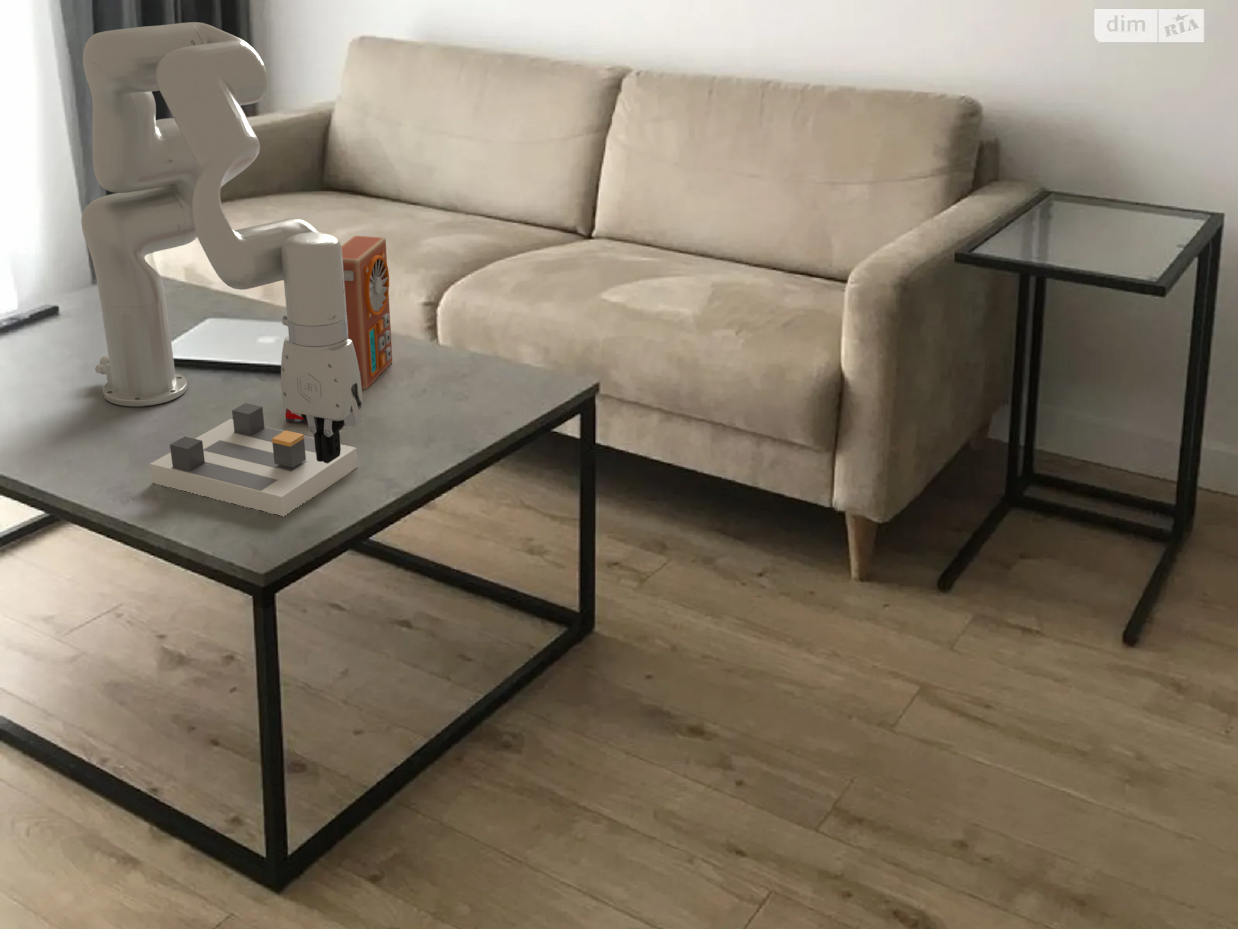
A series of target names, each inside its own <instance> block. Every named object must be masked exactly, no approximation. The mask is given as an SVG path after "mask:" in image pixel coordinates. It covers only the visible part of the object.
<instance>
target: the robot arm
mask: <svg viewBox="0 0 1238 929" xmlns="http://www.w3.org/2000/svg"><path fill="white" fill-rule="evenodd" d="M82 54H83V55H82V64H83V71H84V75H85V78H86V81H87V84H88V87H89V91H90V94H91V102H92V167H93V173H94V176H95V178H96V181H97V183H98V184H99V185H100V186H101V188H103V189H105V191H107V192H111V194H107V195H104V196H103V195H102V196H101V197H98V198H96V199H94V200H93V201H91V202H90V203H89V204H87V205H86V206H85V208H84V210H83V211H82V214H81V220H80V221H81V222H80V223H81V228H82V229H81V230H82V233H83V237H84V240H85V242H86V245H87V247H88V251H89V254H90V258H91V260H92V261H91V262H92V263H93V264H92V265H93V267H94V273H95V277H96V278H95V279H96V283H97V289H98V294H99V295H98V296H99V301H100V307H101V315H102V320H103V321H102V322H103V328H104V335H105V341H106V347H107V354H108V356H106V355H104V356H102V357H101V358H100V359H99V363H98V364H96V365H95V367H94V370H95V373H96V374H102V375H106V379H107V380H106V381H107V382H106V383H105V384H104V385H103V387H102V394H103V397H104V399H105V400H106V401H108V402H109V403H111V404H115V405H119V406H124V407H148V406H155V405H159V404H160V405H161V404H164V403H168V402H170V401H174V400H175V399H178V398H179V397H181V396H182V395H183V394H184V393H186V391H187V389H188V382H187V379H186V377H185V376H184V375H182V374H180V373H177V372H176V370H175V360H174V354H173V353H174V352H173V346H172V337H171V331H170V330H171V329H170V323H169V322H170V321H169V314H168V306H167V299H166V291H165V290H166V289H165V286H164V285H165V284H164V282H163V279H162V277H161V275H160V274H159V272H158V271H157V270H156V269H154V267H153V266H151V265H150V264H149V263H148V262H147V261H146V259H145V257H146V256H147V255H150V254H154V253H156V252H161V251H165V250H169V249H175V248H178V247H182V246H185V245H188V244H191V243H193V242H194V241H195V240H196V239H198V242H199V244H200V245H201V246H200V247H201V248H202V250H203V251H204V253H205V255H206V258H207V259H208V262H209V263H210V265H211V267H212V268H213V270H214V272H215V273H216V275H217V277H218V278H219V279H220V280H221V281H222V282H223V283H224V284H225V285H226V286H227V287H230V288H232V289H234V290H241V291H242V290H250V289H253V288H254V289H255V288H258V287H263V286H265V285H266V286H267V285H269V284H274V283H277V282H282V281H283V285H284V297H285V308H286V314H285V315H283V316H282V319H281V324H282V325H283V326H286V327H287V329H288V336H286V337H285V338H284V339H283V345H282V351H281V360H280V361H281V363H280V365H281V366H280V381H281V382H280V387H281V397H282V398H281V400H282V404H283V406H284V407H285V409H286V408H287V409H288V410H290V411H291V412H292V413H294V414H296V415H299V416H302V418H303V419H304V420H305V421H306V423H307V424H306V425H307V426H308V430H309V432H310V433H311V434H313V438H314V440H315V450H316V458H317V461H319V462H322V461H323V462H324V463H329V462H331V461H333V460H334V459H336V458H337V457H339V456H340V451H341V447H340V444H341V438H340V431H341V430H343V429H344V428H345V427H355V426H357V425H359V424H360V423H361V422H362V417H361V413H360V410H361V409H362V407H363V389H362V387H361V379H360V372H359V366H358V361H357V357H356V353H355V349H354V346H353V343H352V340H350V339H348V325H347V313H346V298H345V284H344V270H343V256H342V247H341V246H342V244H341V243H340V241H339V239H338V238H337V237H335V236H334V235H332V234H329V233H324V232H320V231H319V230H317V228H315V227H314V226H313V225H312V224H311V223H309V222H308V221H306V220H304V219H302V218H286V219H283V220H282V219H281V220H278V221H277V220H276V221H272V222H268V223H262V224H257V225H254V226H248V227H245V228H239V229H236V230H234V228H233V227H232V225H231V223H230V221H229V220H228V217H227V215H226V213H225V211H224V210H225V209H224V208H223V205H222V199H221V191H222V190H221V189H222V187H223V186H224V185H226V184H227V183H228V182H229V181H232V179H234V178H235V177H237V176H238V175H239V174H241V173H242V172H243V171H245V170H246V169H247V168H248V167H250V166H251V164H252V163H254V162H255V160H256V159H257V157H258V155H259V154H260V150H261V143H260V140H259V138H258V137H257V134H256V132H255V131H254V130H253V127H252V125H251V123H250V121H249V119H248V117H247V115H246V113H245V111H244V110H243V107H242V106H246V105H253V104H256V103H258V102H260V101H261V100H262V99H263V98H264V97H265V95H266V94H267V91H268V86H269V78H268V77H269V76H268V73H267V69H266V66H265V63H264V61H263V60H262V58H261V56H260V55H259V53H258V52H257V51H256V50H255V49H254V47H253V46H251V45H250V44H249V43H248V42H246V41H245V40H243V39H242V38H240V37H237V36H235V35H234V34H231V33H229V32H226V31H224V30H221V29H219V28H217V27H215V26H213V25H210V24H207V23H205V22H197V21H195V22H194V21H192V22H191V21H190V22H179V23H170V24H161V25H150V26H139V27H138V26H137V27H129V28H128V27H127V28H122V29H121V28H120V29H119V28H118V29H113V30H105V31H101V32H97V33H94V34H93V35H91V36H90V37H89V38H88V39H87V41H86V43H85V45H84V48H83V53H82ZM153 92H160V94H161V97H162V98H163V100H164V102H165V103H166V105H167V108H168V110H169V112H170V114H171V116H172V117H169V118H160V119H156V116H157V107H156V106H157V104H156V100H155V96H154V94H153Z"/></svg>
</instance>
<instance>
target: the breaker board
mask: <svg viewBox="0 0 1238 929" xmlns="http://www.w3.org/2000/svg"><path fill="white" fill-rule="evenodd" d="M231 413H232V418H229V419H228V420H225V421H224V422H223V423H221V424H218V425H217V426H216V427H213V428H212V429H210V430H208V431H206V432H204V433H203V434H200V435H199V436H197V437H195V438H193V437H189V436H183V437H181V438H179V439H178V440H176V441H174V442H172V443H170V444H169V449H170V452H169V453H168V452H167V454H165V455H163V456H161V457H160V458H157V459H156V460H154V461H153V462H150V464H149V467H150V471H151V472H150V473H151V479H152V484H153V483H156V484H155V485H157V483H158V484H162V485H164V486H163V487H165V486H170V487H172V488H171V489H173V488H176V489H179V490H178V491H180V490H184V491H187V492H186V493H188V492H191V493H190V494H192V493H194V494H193V495H196V494H198V495H197V496H200V495H201V496H200V497H203V496H207V497H210V498H209V499H211V498H213V499H212V500H215V499H216V500H215V501H219V500H221V501H220V502H223V501H226V502H225V503H227V502H228V504H231V503H235V504H238V505H241V506H240V507H242V506H244V507H243V508H246V507H252V508H255V509H258V510H263V511H268V512H270V513H275V514H278V515H281V516H283V517H282V518H285V517H286V516H288V515H287V513H289V514H291V513H292V512H293V511H292V510H294V509H295V508H297V507H298V508H300V507H301V506H302V503H304V504H306V503H307V502H308V501H310V500H311V499H313V498H315V497H316V496H317V495H319V494H320V493H322V492H323V491H325V490H326V489H328V488H329V487H331V486H332V485H334V484H335V483H336V482H338V481H339V480H341V479H342V478H344V477H346V476H347V475H348V474H350V473H351V472H353V471H354V470H355V469H357V468H358V467H359V466H358V451H357V447H355V446H349V445H345V444H341V443H340V447H341V451H340V456H339V457H337V458H336V459H334V460H333V461H331V462H329V463H324V462H323V461H322V462H319V461H317V458H316V450H315V440H314V437H310V436H306V435H304V443H305V455H306V460H305V461H303V462H301V463H300V464H298V465H297V466H295V467H294V468H290V467H286V466H282V465H278V464H275V463H274V453H273V443H272V438H274V437H275V436H277V435H279V434H280V433H282V432H284V431H285V430H280V429H277V428H271V427H268V426H265V421H264V419H265V418H264V410H263V406H260V405H256V404H251V403H248V402H247V403H246V402H244V403H242V404H241V405H239V406H237V407H235V408H234V409H231ZM176 489H175V490H176ZM184 491H183V492H184ZM207 497H206V498H207ZM312 497H313V498H312ZM222 500H223V501H222ZM307 500H308V501H307ZM306 501H307V502H306ZM238 505H237V506H238ZM300 505H301V506H300ZM299 506H300V507H299ZM298 508H297V509H298ZM258 510H257V511H258ZM295 510H296V509H295ZM295 510H294V511H295ZM291 511H292V512H291ZM290 512H291V513H290ZM285 515H286V516H285ZM281 516H280V517H281ZM284 516H285V517H284Z"/></svg>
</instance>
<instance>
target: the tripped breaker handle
mask: <svg viewBox="0 0 1238 929" xmlns="http://www.w3.org/2000/svg"><path fill="white" fill-rule="evenodd" d="M283 431H284V432H282V433H280V434H279V435H277V436H275V437H274V438H272V443H273V453H274V463H275V464H278V465H282V466H286V467H290V468H294V467H295V466H297V465H298V464H300V463H301V462H303V461H305V460H306V455H305V443H304V436H305V435H304V433H298V432H295V431H289V430H287V429H286V430H283Z"/></svg>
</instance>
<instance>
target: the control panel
mask: <svg viewBox="0 0 1238 929" xmlns="http://www.w3.org/2000/svg"><path fill="white" fill-rule="evenodd" d="M341 247H342V256H343V270H344V284H345V298H346V313H347V325H348V339H350V340H352V343H353V346H354V349H355V353H356V357H357V361H358V366H359V372H360V379H361V387H362V390H367V389H368V388H369V387H370V386H372V384H373V383H374V382H375V381H376V380H377V378H378V377H380V375H382V373H383V372H384V371H385V370H386V369H387V368H388V367H389V366H390V365H391V363H392V362H393V349H392V347H393V346H392V329H391V327H392V326H391V315H390V314H391V312H390V311H391V310H390V294H389V292H390V291H389V290H390V273H389V266H388V260H387V259H388V257H387V240H386V238H385V237H381V236H366V235H354V236H352V237H351V238H349V239H348V240H347V241H346V242H344V243H343V244H341Z"/></svg>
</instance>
